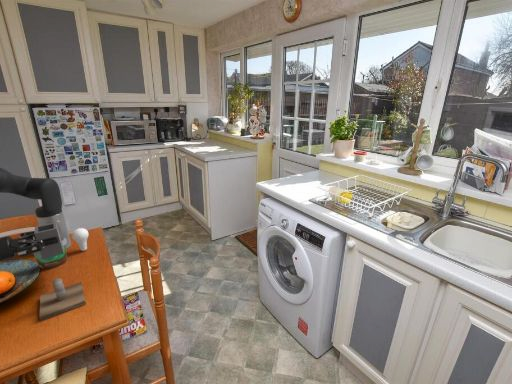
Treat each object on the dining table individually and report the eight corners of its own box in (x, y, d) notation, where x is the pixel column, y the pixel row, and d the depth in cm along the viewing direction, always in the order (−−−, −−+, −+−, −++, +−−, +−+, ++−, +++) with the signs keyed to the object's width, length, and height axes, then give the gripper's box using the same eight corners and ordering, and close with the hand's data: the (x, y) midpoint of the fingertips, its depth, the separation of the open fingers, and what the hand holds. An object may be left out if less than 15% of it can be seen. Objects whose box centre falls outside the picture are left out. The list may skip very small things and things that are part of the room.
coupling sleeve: (42, 251, 95) (35, 226, 92) (63, 246, 99) (56, 222, 95) (42, 259, 91) (34, 233, 87) (63, 253, 94) (56, 228, 91)
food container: (36, 275, 103) (29, 253, 100) (35, 268, 108) (28, 246, 104) (73, 263, 111) (67, 242, 108) (71, 256, 115) (65, 236, 112)
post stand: (41, 298, 91) (34, 278, 88) (82, 285, 98) (77, 265, 95) (40, 321, 82) (33, 299, 79) (85, 304, 89) (80, 283, 86)
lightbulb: (84, 254, 117) (79, 232, 113) (72, 253, 118) (67, 231, 114) (95, 247, 122) (90, 226, 119) (83, 246, 123) (78, 225, 120)
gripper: (-15, 251, 78) (55, 234, 87) (-8, 232, 89) (54, 219, 98) (-7, 272, 81) (60, 253, 90) (0, 251, 91) (59, 236, 101)
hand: (57, 235), depth 94 cm, fingers closed on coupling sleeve, 6 cm apart
